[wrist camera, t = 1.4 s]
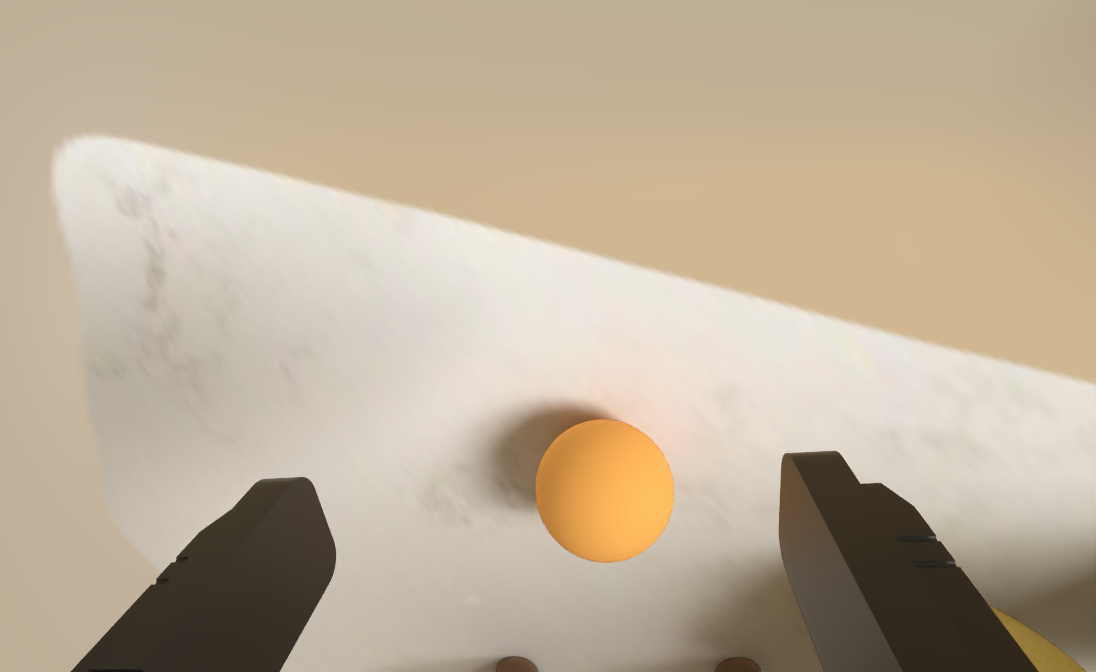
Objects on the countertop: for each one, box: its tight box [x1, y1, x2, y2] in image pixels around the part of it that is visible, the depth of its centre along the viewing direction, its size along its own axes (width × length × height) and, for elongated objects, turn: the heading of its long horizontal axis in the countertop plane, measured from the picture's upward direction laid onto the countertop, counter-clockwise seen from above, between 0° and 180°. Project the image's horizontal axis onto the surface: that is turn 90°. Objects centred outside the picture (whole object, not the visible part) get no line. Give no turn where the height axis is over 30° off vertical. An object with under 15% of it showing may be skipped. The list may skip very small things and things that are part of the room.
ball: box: [535, 419, 674, 563], centre depth 24 cm, size 6×6×6 cm
